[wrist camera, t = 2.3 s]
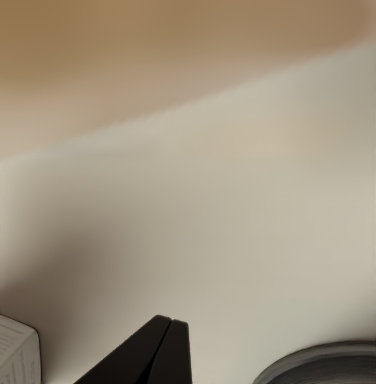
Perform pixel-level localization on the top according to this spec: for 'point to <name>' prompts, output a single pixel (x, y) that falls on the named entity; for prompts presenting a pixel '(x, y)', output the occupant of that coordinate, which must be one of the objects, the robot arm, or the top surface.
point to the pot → (325, 365)
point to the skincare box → (18, 353)
